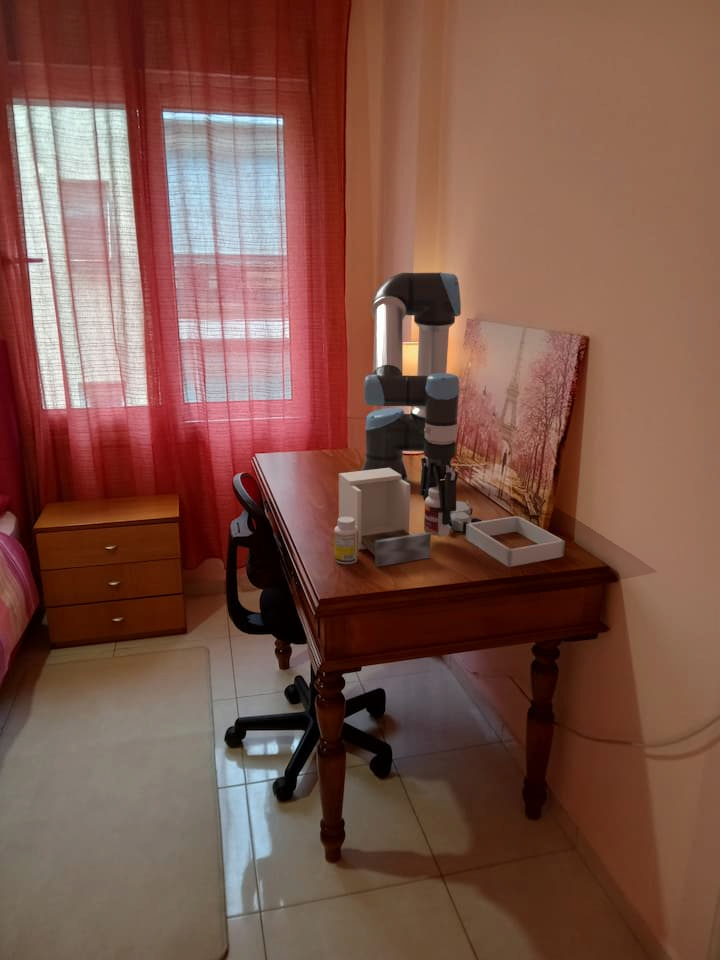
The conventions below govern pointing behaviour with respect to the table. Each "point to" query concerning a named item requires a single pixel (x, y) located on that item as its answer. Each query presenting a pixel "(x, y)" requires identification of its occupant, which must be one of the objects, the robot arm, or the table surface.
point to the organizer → (544, 549)
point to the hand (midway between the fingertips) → (436, 530)
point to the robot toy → (461, 516)
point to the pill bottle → (432, 511)
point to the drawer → (397, 546)
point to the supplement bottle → (346, 541)
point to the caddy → (375, 501)
